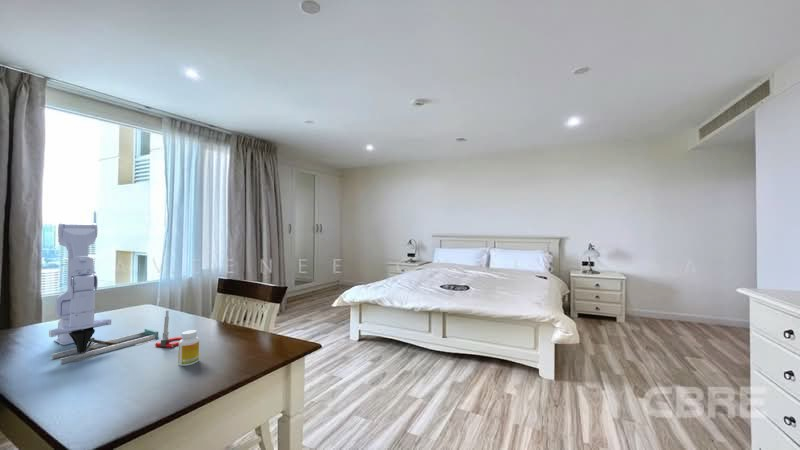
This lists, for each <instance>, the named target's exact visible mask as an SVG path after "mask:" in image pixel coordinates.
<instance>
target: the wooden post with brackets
mask: <svg viewBox="0 0 800 450" xmlns="http://www.w3.org/2000/svg"><path fill="white" fill-rule="evenodd" d="M106 341H107V340H101V339H100V340H99V339H95V337H93V338H92V339H91V338H90V340H89V342H88V344H87V345H88V346H87V347H86V350H85V352H88V351H89V350H88V349H91V350H90V351H92V350H96V349H98V348H94V347H93V348H89V347H90V346H91V345H93V344H95V343H98V344H103V345H104V344H105V345H107V346H112V345H115V344H118V343H117V342H106Z"/></svg>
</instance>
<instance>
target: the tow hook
mask: <svg viewBox="0 0 800 450" xmlns="http://www.w3.org/2000/svg"><path fill="white" fill-rule="evenodd" d="M169 312H170V311H169V310H166V311H165V316H164V325H163V326H164V327H163V332H162V339H160V342H156V343H155V345H154V346H155V347H158V348H159V347H160V348H170V349H173V348H174V347H176V346H179V341H180V340H181V339H182V337H181V336H178V337H171V338H169V322H170V321H169V320H170V316H169ZM174 341H175V342H174Z"/></svg>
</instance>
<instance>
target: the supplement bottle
mask: <svg viewBox="0 0 800 450" xmlns="http://www.w3.org/2000/svg"><path fill="white" fill-rule="evenodd" d="M197 334H198V331H197V330H195V329H190V330H185V331H182V332H181V336H180V337H182V339H181V340H178V342H179V345H178V353H177V354H178V358H177V364H178V366H180V367H186V366H187V367H188V366H192V365H194V364H196V363H198V362H199V360H200V353H199V352H200V338H199V337H198V336H197Z"/></svg>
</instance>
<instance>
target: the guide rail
mask: <svg viewBox="0 0 800 450" xmlns="http://www.w3.org/2000/svg"><path fill="white" fill-rule="evenodd" d="M157 339H159V331H158V330H155V329H151V328H148V327H147V328H144V330H143V331H140V332H136V333H132V334H128V335H124V336H120V337H117V338H112V339H108V340H105V341H106V342H117V344H115V345H112V346H110V345H105V344H104V345H103V344H98V343H95V342H94V343H95V344H93V343H92V344H93V345H91V344H90V345H91V346H90V347H89V348H93V347H94V348H97V349H96V350H91V349H88V350H87V351H86V352H83V353H78V352H77V347H76V348H72V349H71V348H70V349H67V350H62V351H59V352H54V353H51V360H56V359H58V358H60V364H61V365H64V364H67V363H70V362H74V363H77V362H81V361H84V360H88V359H91V358H96V357H97V355H101V354H104V353H107V352H111V351H115V350H119V349H122V348H126V347H129V346H133V345H134V346H140V345H143V344H146V343H149V342H155V341H156V340H157ZM87 346H88V344H87Z"/></svg>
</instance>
